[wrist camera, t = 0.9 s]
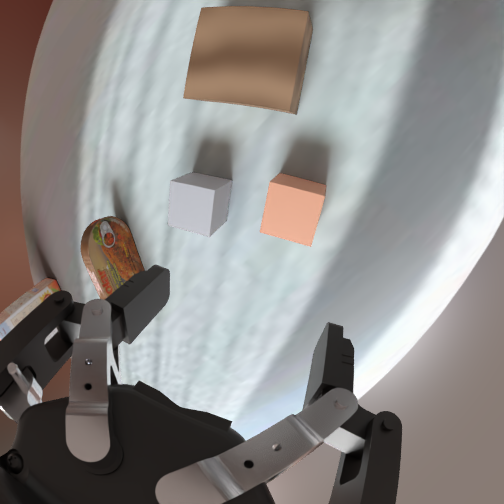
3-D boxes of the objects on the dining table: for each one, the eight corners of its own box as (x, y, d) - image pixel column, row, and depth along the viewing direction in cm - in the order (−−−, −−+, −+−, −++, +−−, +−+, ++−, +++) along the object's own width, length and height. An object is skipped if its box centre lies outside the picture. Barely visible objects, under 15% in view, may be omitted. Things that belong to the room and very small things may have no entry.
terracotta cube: (279, 172, 28) (269, 181, 24) (326, 184, 27) (325, 196, 23) (270, 215, 30) (259, 232, 26) (314, 227, 29) (310, 246, 25)
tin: (155, 297, 41) (125, 329, 34) (141, 296, 42) (111, 327, 35) (124, 207, 36) (82, 229, 28) (110, 211, 37) (69, 232, 29)
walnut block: (221, 22, 21) (201, 7, 17) (312, 29, 20) (308, 11, 15) (205, 101, 26) (183, 98, 22) (296, 114, 25) (289, 111, 20)
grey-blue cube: (193, 171, 30) (170, 180, 26) (232, 180, 30) (214, 190, 25) (189, 211, 33) (167, 225, 29) (226, 220, 32) (209, 237, 28)
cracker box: (45, 276, 52) (-13, 322, 34) (56, 278, 50) (-7, 329, 32) (67, 323, 58) (17, 371, 40) (79, 327, 56) (27, 379, 38)
